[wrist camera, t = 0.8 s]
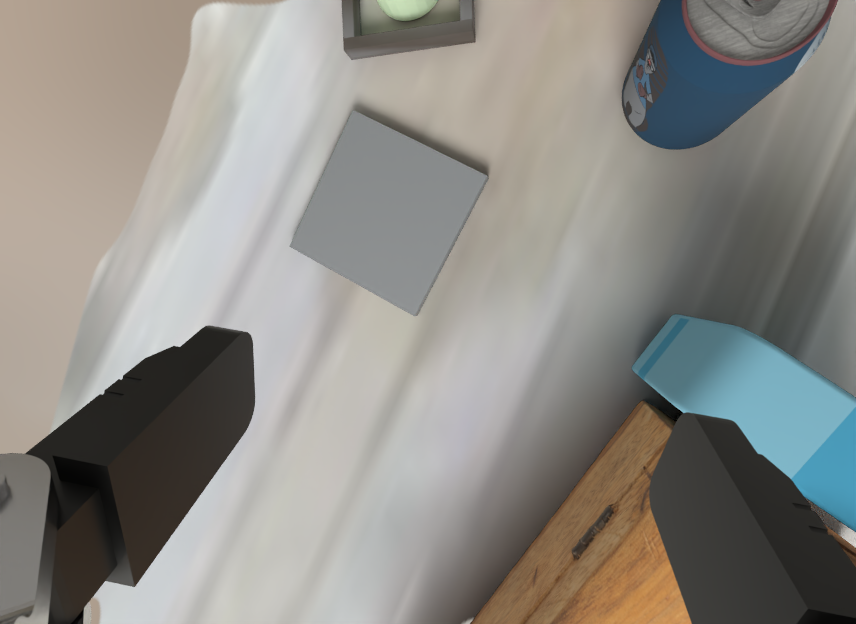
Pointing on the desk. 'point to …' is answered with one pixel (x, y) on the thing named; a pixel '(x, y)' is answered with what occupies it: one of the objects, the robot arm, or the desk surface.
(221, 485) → the desk surface
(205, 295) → the desk surface
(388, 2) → the candle
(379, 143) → the slate mat
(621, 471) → the wooden box
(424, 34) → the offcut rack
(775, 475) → the robot arm
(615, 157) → the desk surface
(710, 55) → the soda can
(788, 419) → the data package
